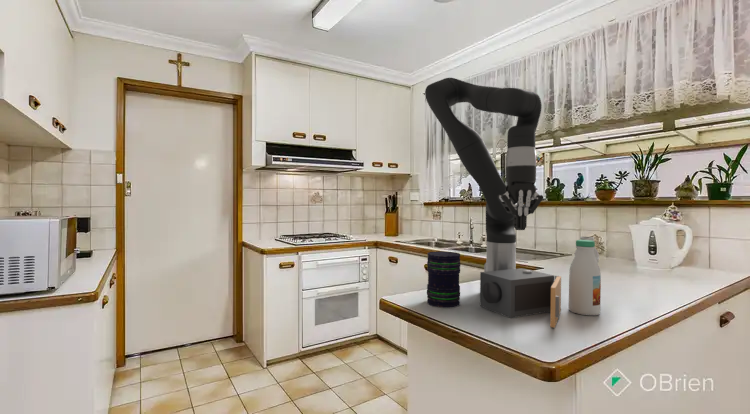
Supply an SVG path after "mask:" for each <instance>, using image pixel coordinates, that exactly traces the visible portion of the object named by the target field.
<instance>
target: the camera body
mask: <svg viewBox="0 0 750 414" xmlns="http://www.w3.org/2000/svg"><path fill="white" fill-rule="evenodd" d="M479 276H480V278H479V280H480V282H479V283H480V284H479V285H480V289H479V293H480V294H479V301H480V302H479V307H481V308H483V309H486V310H489V311H492V312H494V313H497V314H499V315H502V316H505V317H507V318H509V319H514V318H519V317H525V316H531V315H537V314H543V313H551V286H552V285H553V283H554V281H555V276H556V275H554V274H550V273H544V272H540V271H536V270H532V269H527V268H524V267H523V268H521V267H520V268H516V269H508V270H498V271H487V272H484V271H480V275H479Z"/></svg>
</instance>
